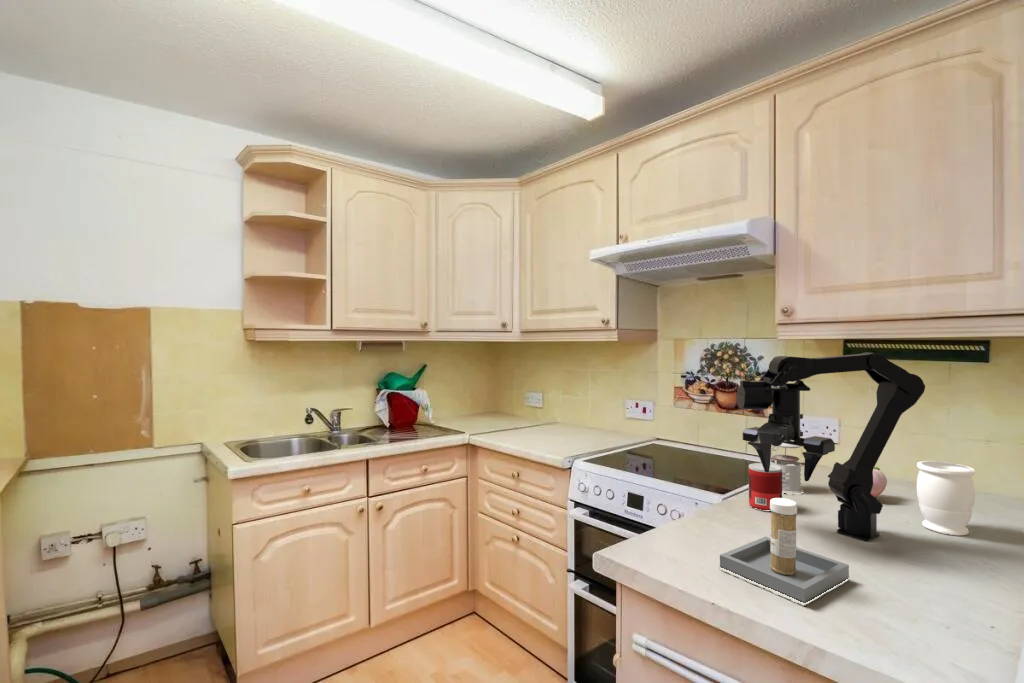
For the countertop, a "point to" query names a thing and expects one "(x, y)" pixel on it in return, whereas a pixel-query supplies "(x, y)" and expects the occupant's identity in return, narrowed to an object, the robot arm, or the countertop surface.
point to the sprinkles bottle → (783, 536)
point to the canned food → (764, 485)
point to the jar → (945, 496)
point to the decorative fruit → (878, 482)
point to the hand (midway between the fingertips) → (786, 476)
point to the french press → (789, 469)
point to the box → (803, 586)
